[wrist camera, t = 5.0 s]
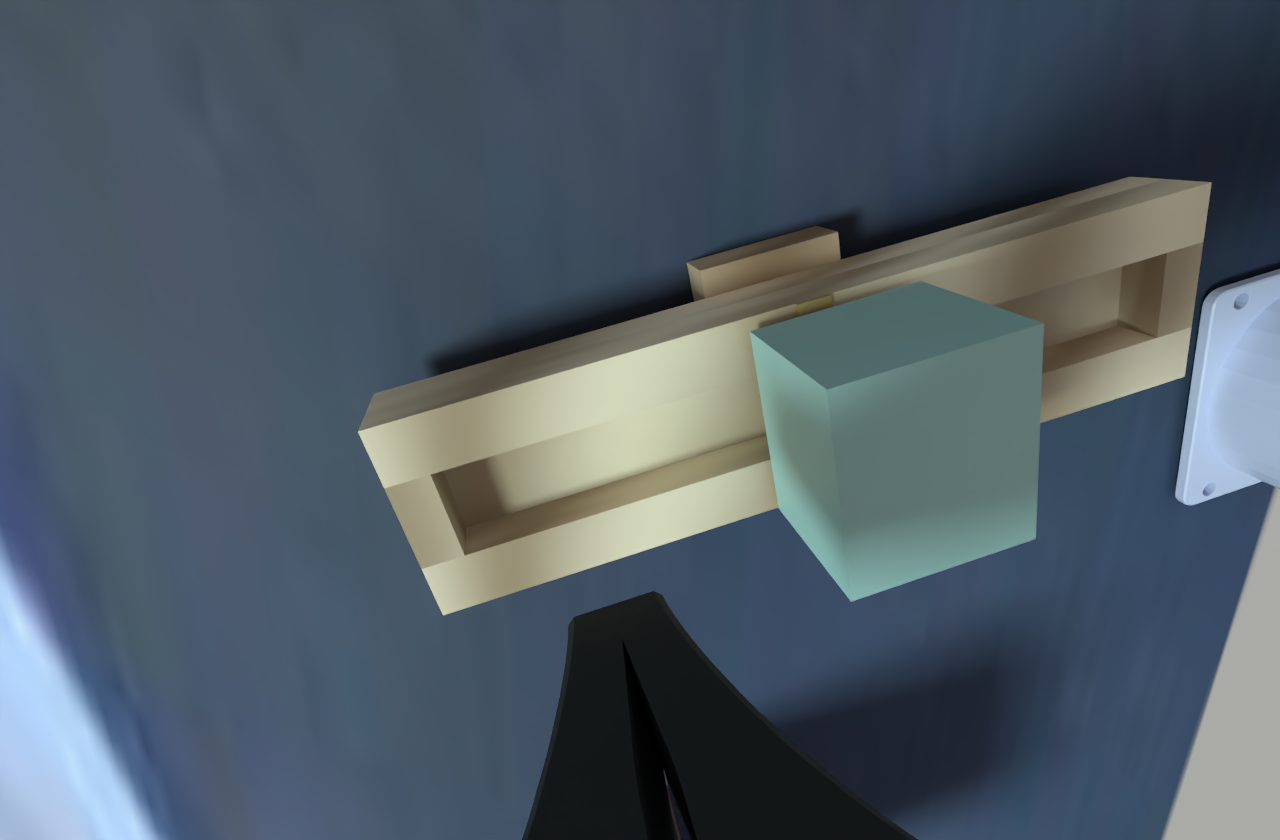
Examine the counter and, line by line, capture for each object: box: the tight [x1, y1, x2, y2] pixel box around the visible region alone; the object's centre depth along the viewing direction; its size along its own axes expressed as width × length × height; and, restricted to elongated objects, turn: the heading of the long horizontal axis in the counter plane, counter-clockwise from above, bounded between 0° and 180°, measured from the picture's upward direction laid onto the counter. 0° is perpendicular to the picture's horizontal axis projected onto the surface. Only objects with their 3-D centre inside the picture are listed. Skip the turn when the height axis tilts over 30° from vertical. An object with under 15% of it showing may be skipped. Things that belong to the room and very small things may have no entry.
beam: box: [358, 177, 1212, 615], centre depth 17 cm, size 20×6×4 cm, turn 103°
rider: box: [750, 281, 1044, 601], centre depth 14 cm, size 4×5×5 cm
